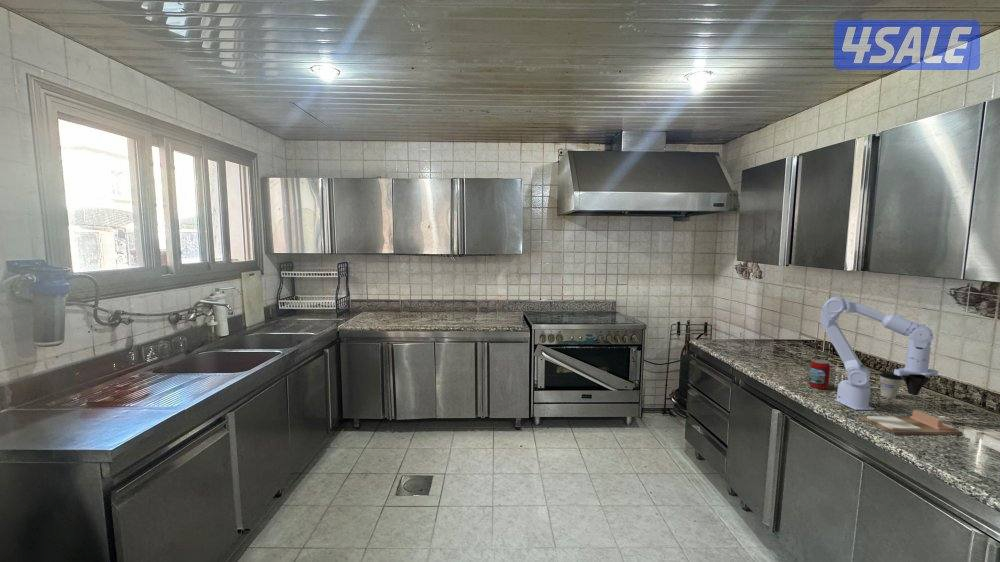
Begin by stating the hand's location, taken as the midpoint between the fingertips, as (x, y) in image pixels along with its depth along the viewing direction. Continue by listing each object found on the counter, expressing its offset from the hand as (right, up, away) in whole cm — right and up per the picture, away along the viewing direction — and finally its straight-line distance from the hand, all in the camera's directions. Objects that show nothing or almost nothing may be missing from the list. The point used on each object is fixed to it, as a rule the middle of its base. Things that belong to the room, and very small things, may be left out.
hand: (912, 394), depth 144 cm
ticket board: (-7, -10, -5) cm, 13 cm away
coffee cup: (+13, -8, +22) cm, 27 cm away
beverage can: (-9, -6, +32) cm, 33 cm away
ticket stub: (+1, -9, -5) cm, 10 cm away
